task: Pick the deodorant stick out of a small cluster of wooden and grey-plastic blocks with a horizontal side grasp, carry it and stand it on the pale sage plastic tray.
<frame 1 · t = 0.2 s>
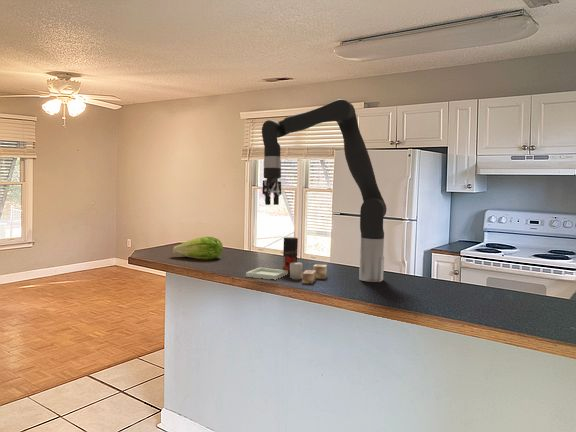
hand: (272, 204, 210), 29 cm above the table, tool pointing down, fingers open, 8 cm apart
lettuce: (197, 258, 238), on the table
tray: (267, 275, 199), on the table
beech brick: (309, 281, 190), on the table
maple cube: (319, 277, 199), on the table
deodorant: (289, 273, 206), on the table
grey cylinder: (296, 278, 195), on the table
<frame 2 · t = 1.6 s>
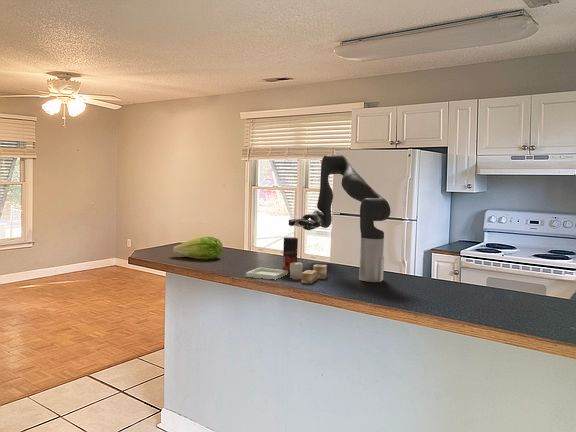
hand: (299, 224, 214), 20 cm above the table, tool horizontal, fingers open, 8 cm apart
nothing on the table moved.
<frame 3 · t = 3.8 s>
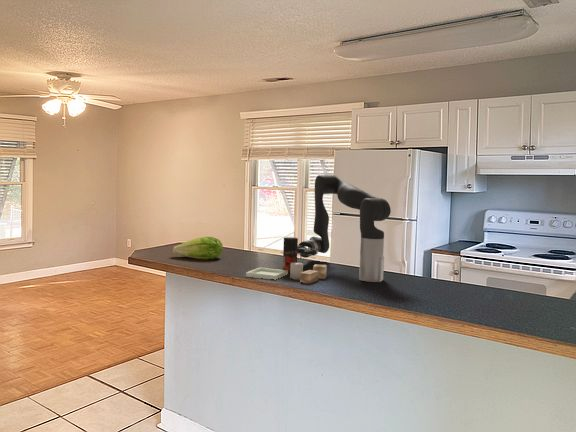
hand: (295, 252, 211), 8 cm above the table, tool horizontal, fingers open, 8 cm apart
nothing on the table moved.
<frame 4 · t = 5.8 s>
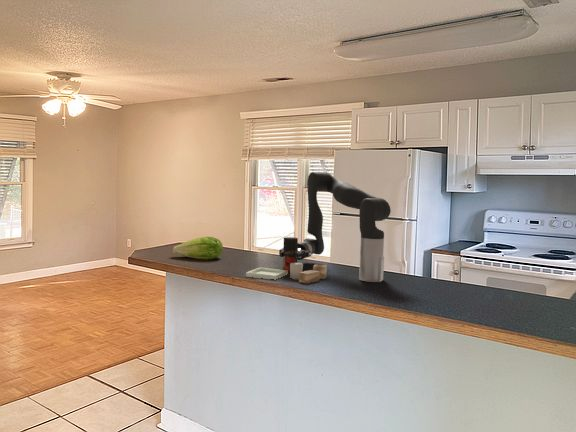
hand: (288, 255, 203), 8 cm above the table, tool horizontal, fingers closed on deodorant, 6 cm apart
deodorant: (289, 273, 206), on the table, touching gripper
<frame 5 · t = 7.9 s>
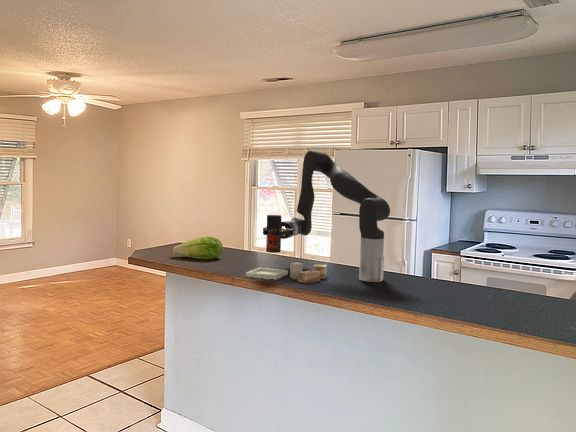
hand: (271, 232, 197), 18 cm above the table, tool horizontal, fingers closed on deodorant, 6 cm apart
deodorant: (273, 252, 200), point 9 cm above the table, touching gripper
when the fingers open (10 cm above the table, at t = 10.2 s): deodorant stays where it is, resting on tray.
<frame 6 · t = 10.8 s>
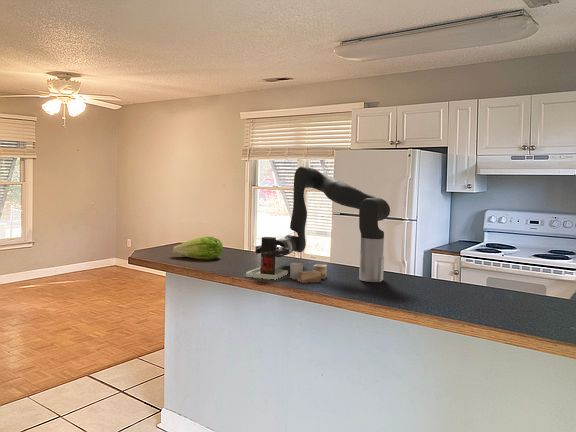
hand: (266, 252, 196), 10 cm above the table, tool horizontal, fingers open, 8 cm apart
deodorant: (267, 274, 199), resting on tray
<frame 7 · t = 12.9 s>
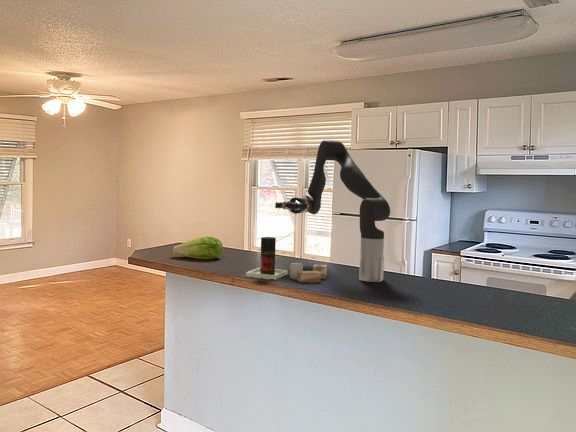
hand: (286, 205, 209), 28 cm above the table, tool horizontal, fingers open, 8 cm apart
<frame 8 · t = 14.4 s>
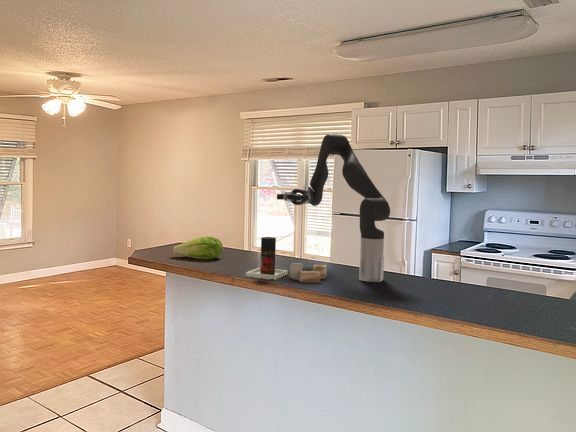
hand: (287, 197, 210), 32 cm above the table, tool horizontal, fingers open, 8 cm apart
at the end: deodorant inside the target area on the tray (0.2 cm from its centre), point 0.4 cm above the tray's base; deodorant tilted 0°; the gripper is holding nothing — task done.
